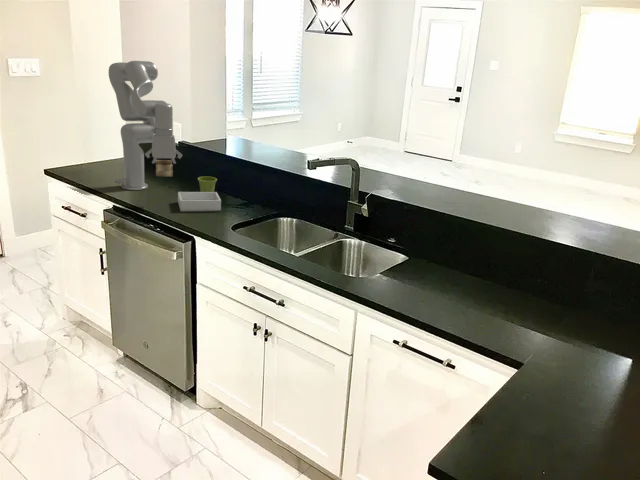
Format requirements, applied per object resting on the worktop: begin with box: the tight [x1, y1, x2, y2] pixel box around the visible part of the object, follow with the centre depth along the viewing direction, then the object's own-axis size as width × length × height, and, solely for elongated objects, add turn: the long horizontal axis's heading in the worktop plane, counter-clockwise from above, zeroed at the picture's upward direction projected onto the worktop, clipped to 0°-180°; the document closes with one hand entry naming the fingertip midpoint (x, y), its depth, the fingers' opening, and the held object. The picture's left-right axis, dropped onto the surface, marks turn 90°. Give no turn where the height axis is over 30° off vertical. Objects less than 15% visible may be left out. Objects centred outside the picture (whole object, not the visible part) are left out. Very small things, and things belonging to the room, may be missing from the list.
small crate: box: [155, 159, 174, 177], centre depth 244 cm, size 7×10×5 cm
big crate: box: [177, 191, 222, 212], centre depth 252 cm, size 18×14×5 cm
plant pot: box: [197, 176, 218, 192], centre depth 269 cm, size 9×9×9 cm
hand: (163, 171), depth 244 cm, fingers closed on small crate, 7 cm apart
